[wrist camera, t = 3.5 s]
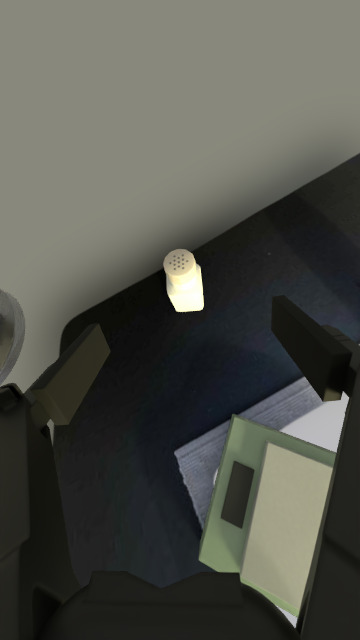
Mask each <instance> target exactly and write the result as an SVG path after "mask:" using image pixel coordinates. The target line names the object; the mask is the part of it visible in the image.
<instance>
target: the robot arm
mask: <svg viewBox="0 0 360 640" xmlns="http://www.w3.org/2000/svg"><path fill="white" fill-rule="evenodd" d="M271 330H272V332H273V333H274V335H275V336H276V337H277V339H278V340H279V341H280V343H281V344H282V346H283V347H284V348H285V350H286V351H287V352H288V354H289V355H290V357H291V358H292V359H293V361H294V362H295V364H296V365H297V366H298V368H299V369H300V370H301V372H302V373H303V375H304V376H305V377H306V379H307V380H308V382H309V383H310V384H311V386H312V387H313V388H314V390H315V391H316V393H317V394H318V395H319V397H320V398H321V400H322V401H323V402H324V401H336V400H341V396H342V393H343V391H344V392H345V393H346V394H347V396H348V397H349V401H348V404H347V408H346V412H345V418H344V422H343V427H342V431H341V435H340V440H339V444H338V448H337V453H336V457H335V461H334V466H333V470H332V474H331V479H330V483H329V488H328V492H327V496H326V501H325V505H324V509H323V514H322V518H321V522H320V527H319V531H318V535H317V540H316V544H315V548H314V553H313V557H312V561H311V566H310V570H309V574H308V578H307V582H306V585H305V589H304V593H303V598H302V602H301V606H300V610H299V615H298V619H297V623H296V628H294V627H293V625H292V624H291V623H290V621H289V620H288V619H287V618H286V616H285V615H284V614H283V613H282V612H281V611H280V610H279V609H278V608H277V607H276V606H275V605H274V603H273V602H271V601H270V600H269V599H268V598H267V597H265V596H264V595H263V594H262V593H260V592H259V591H257V590H256V589H254V588H252V587H251V586H248V585H246V584H244V583H242V582H241V579H240V573H239V572H200V573H197V574H195V575H193V576H190V577H188V578H186V579H183V580H181V581H179V582H176V583H174V584H172V585H169V586H167V587H164V588H159V587H156V586H154V585H152V584H150V583H148V582H146V581H144V580H142V579H140V578H138V577H136V576H134V575H132V574H130V573H128V572H126V571H92V575H91V578H90V582H89V584H88V585H87V586H85V587H83V588H82V589H81V586H80V584H79V581H78V579H77V577H76V575H75V573H74V570H73V568H72V563H71V558H70V551H69V545H68V539H67V533H66V527H65V521H64V515H63V509H62V503H61V496H60V490H59V484H58V478H57V472H56V466H55V460H54V454H53V447H52V441H51V435H50V429H49V427H48V426H47V422H48V421H49V420H50V418H51V419H52V421H53V422H54V424H55V425H65V424H69V422H70V420H71V419H72V417H73V415H74V414H75V412H76V410H77V408H78V407H79V405H80V403H81V401H82V400H83V398H84V396H85V395H86V393H87V391H88V389H89V388H90V386H91V384H92V383H93V381H94V379H95V377H96V376H97V374H98V372H99V370H100V369H101V367H102V365H103V364H104V362H105V360H106V358H107V357H108V355H109V353H110V349H109V347H108V345H107V342H106V340H105V337H104V335H103V333H102V330H101V328H100V326H99V323H97V324H91V325H89V326H88V327H87V328H86V329H85V330H84V331H83V332H82V333H81V334H80V336H79V337H78V338H77V339H76V340H75V341H74V342H73V343H72V344H71V345H70V346H69V348H68V349H67V350H66V351H65V352H64V353H63V354H62V355H61V356H60V357H59V358H58V359H57V361H56V362H55V363H53V364H52V365H51V366H49V367H48V368H47V369H46V370H45V371H44V373H43V374H41V376H40V377H39V379H37V380H36V381H35V382H34V383H33V384H32V385H31V386H30V387H29V389H27V391H26V392H25V393H24V394H23V393H22V392H21V390H20V389H19V387H18V386H17V385H16V384H15V383H10V384H6V385H3V386H1V387H0V640H360V346H359V345H358V344H357V343H355V342H354V341H353V340H351V339H350V338H349V337H347V336H345V334H343V333H342V332H341V331H340V330H338V329H336V328H334V327H331V326H329V325H323V326H320V325H319V324H318V323H316V322H315V321H314V320H313V319H312V318H310V317H309V316H308V315H307V314H306V313H304V312H303V311H302V310H301V309H300V308H298V307H297V306H296V305H295V304H294V303H292V302H291V301H290V300H289V299H288V298H286V297H285V296H284V295H281V296H275V297H272V325H271ZM241 585H242V586H241Z"/></svg>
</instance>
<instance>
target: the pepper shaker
mask: <svg viewBox="0 0 360 640" xmlns="http://www.w3.org/2000/svg"><path fill="white" fill-rule="evenodd" d="M163 266H164V269H165V272H166V274H167V293H168V295H169V297H170V299H171V301H172V303H173V305H174V307H175V309H176V311H178V312H186V311H199V310H202V309H203V307H204V302H203V287H202V278H201V269H200V266H199V265H198V264H195V259H194V257H193V254H192V253H190V252H189V251H187V250H184V249H177V250H174V251H171V252H170V253H169V254H168V255H167V256H166V257H165V260H164V263H163Z"/></svg>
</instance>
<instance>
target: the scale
mask: <svg viewBox="0 0 360 640" xmlns="http://www.w3.org/2000/svg"><path fill="white" fill-rule="evenodd" d="M335 457H336V453H335V452H333V451H330V450H327V449H325V448H322V447H320V446H317V445H314V444H311V443H309V442H306V441H304V440H301V439H299V438H296V437H293V436H290V435H288V434H285V433H283V432H280V431H277V430H275V429H272V428H270V427H267V426H264V425H262V424H259V423H256V422H254V421H251V420H248V419H246V418H243V417H240V416H238V415H235V414H232V418H231V422H230V426H229V430H228V434H227V438H226V442H225V446H224V450H223V453H222V457H221V461H220V465H219V469H218V473H217V477H216V481H215V485H214V489H213V493H212V497H211V501H210V505H209V509H208V513H207V517H206V521H205V525H204V529H203V533H202V537H201V541H200V549H199V561H201V562H202V563H204V564H206V565H208V566H209V567H211V568H213V569H214V570H216V571H218V572H239V573H240V579H241V582H242V583H244V584H246V585H248V586H251V587H252V588H254V589H256V590H257V591H259V592H260V593H262V594H263V595H264V596H265V597H267V598H268V599H269V600H270V601H271V602H273V603H274V604H275V605H277V606H279V607H280V608H282V609H284V610H286V611H287V612H289V613H291V614H292V615H294V616H296V617H297V618H298V615H299V610H300V606H301V602H302V598H303V593H304V589H305V585H306V582H307V578H308V574H309V570H310V566H311V561H312V557H313V553H314V548H315V544H316V540H317V535H318V531H319V527H320V522H321V518H322V514H323V509H324V505H325V501H326V496H327V492H328V488H329V483H330V479H331V474H332V470H333V466H334V461H335Z"/></svg>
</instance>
